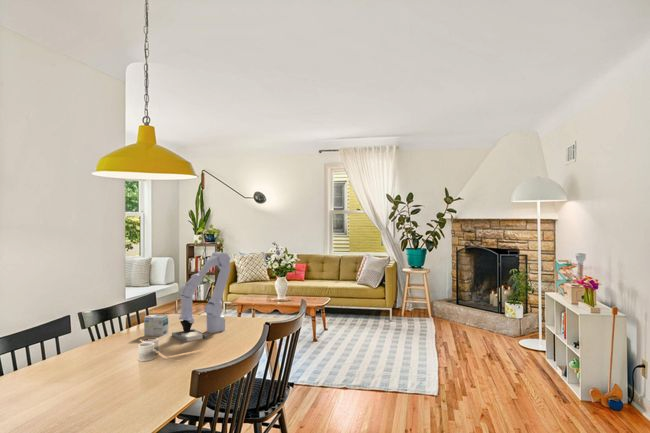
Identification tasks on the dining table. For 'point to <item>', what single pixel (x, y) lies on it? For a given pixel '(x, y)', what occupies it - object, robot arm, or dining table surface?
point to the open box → (178, 336)
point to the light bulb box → (156, 325)
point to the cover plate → (192, 336)
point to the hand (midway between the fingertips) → (186, 334)
